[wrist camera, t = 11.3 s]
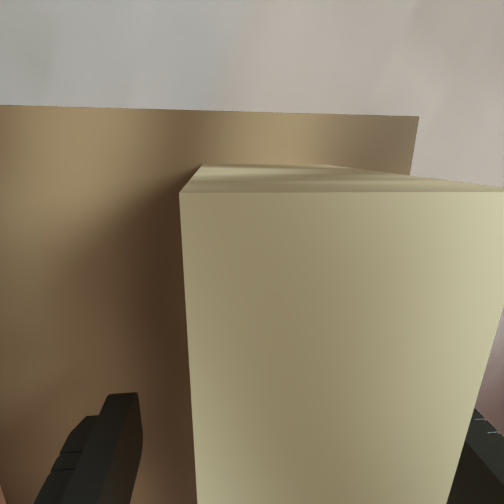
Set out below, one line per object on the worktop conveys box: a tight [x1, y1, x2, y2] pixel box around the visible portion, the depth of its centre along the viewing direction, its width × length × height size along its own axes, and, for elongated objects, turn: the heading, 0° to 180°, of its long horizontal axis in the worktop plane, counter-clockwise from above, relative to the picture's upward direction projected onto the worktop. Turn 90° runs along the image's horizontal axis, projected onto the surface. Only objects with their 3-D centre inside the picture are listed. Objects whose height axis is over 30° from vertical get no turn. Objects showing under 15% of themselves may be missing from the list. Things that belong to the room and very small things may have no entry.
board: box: [0, 105, 419, 504], centre depth 13 cm, size 16×17×2 cm
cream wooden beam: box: [179, 164, 504, 504], centre depth 9 cm, size 4×14×7 cm, turn 179°
